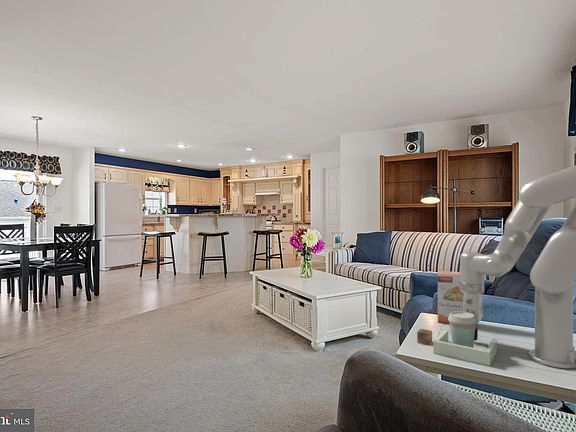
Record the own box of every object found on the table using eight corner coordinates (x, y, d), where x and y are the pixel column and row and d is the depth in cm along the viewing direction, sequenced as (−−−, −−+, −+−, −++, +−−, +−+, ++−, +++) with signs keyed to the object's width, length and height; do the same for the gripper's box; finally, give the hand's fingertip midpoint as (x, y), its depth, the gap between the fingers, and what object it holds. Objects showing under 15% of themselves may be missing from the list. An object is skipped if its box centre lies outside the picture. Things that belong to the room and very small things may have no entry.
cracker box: (437, 322, 148) (437, 272, 147) (437, 318, 153) (437, 270, 153) (475, 327, 142) (475, 274, 142) (474, 322, 148) (474, 272, 147)
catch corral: (496, 351, 117) (496, 339, 117) (489, 365, 106) (489, 352, 106) (444, 340, 127) (444, 329, 127) (433, 353, 116) (433, 340, 116)
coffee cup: (475, 346, 121) (474, 311, 121) (479, 357, 113) (478, 319, 113) (448, 344, 124) (446, 310, 124) (449, 354, 116) (448, 317, 116)
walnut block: (432, 341, 127) (432, 330, 127) (429, 345, 123) (429, 333, 123) (420, 339, 129) (420, 328, 129) (417, 343, 126) (417, 331, 126)
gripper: (480, 292, 117) (480, 348, 117) (487, 285, 129) (487, 335, 129) (456, 290, 122) (456, 343, 122) (464, 282, 134) (464, 331, 134)
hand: (472, 339), depth 126 cm, fingers closed
